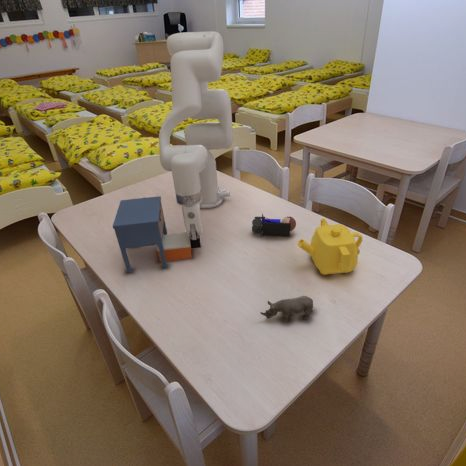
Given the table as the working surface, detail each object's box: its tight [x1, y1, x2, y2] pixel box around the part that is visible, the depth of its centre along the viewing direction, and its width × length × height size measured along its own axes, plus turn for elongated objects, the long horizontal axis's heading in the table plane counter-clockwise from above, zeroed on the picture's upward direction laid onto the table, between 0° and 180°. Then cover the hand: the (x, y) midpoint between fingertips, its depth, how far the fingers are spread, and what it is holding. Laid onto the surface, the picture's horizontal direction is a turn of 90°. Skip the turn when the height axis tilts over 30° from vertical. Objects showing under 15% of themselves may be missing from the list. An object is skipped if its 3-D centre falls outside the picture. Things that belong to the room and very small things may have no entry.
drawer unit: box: [112, 195, 168, 274], centre depth 104 cm, size 12×15×17 cm
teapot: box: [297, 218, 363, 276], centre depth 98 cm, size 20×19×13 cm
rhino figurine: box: [260, 295, 314, 323], centre depth 83 cm, size 4×14×6 cm, turn 97°
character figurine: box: [251, 213, 297, 238], centre depth 114 cm, size 8×7×15 cm
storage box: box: [156, 231, 193, 263], centre depth 108 cm, size 10×8×5 cm
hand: (196, 246), depth 109 cm, fingers closed
